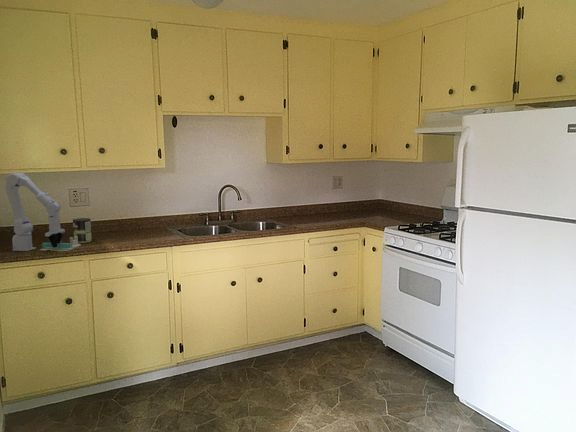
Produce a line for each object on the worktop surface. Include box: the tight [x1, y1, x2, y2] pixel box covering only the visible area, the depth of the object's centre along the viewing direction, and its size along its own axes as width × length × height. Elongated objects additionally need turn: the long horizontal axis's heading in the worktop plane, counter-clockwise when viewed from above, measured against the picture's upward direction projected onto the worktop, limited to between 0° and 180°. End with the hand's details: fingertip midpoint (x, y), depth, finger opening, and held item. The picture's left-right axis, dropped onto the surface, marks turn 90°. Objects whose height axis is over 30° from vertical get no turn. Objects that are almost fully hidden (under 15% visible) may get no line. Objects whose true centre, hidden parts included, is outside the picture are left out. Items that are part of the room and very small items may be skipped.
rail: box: [41, 242, 70, 249], centre depth 262 cm, size 16×2×2 cm, turn 81°
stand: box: [69, 235, 82, 249], centre depth 270 cm, size 15×7×6 cm, turn 81°
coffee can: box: [72, 217, 93, 244], centre depth 285 cm, size 10×10×14 cm
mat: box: [39, 248, 74, 252], centre depth 262 cm, size 17×6×1 cm, turn 81°
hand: (56, 246), depth 262 cm, fingers closed on rail, 2 cm apart
